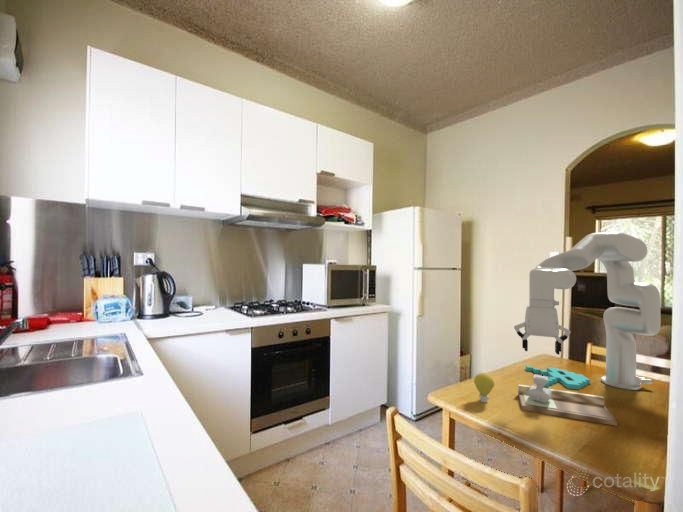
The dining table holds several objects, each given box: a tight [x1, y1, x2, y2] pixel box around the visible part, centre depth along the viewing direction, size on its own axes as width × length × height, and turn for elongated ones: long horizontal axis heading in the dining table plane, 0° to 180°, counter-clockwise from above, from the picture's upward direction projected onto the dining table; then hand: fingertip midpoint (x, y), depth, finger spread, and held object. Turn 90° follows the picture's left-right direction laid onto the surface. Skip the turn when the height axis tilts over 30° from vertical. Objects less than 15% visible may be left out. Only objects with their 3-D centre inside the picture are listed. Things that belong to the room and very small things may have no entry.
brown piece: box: [517, 383, 618, 427], centre depth 113 cm, size 26×13×4 cm, turn 67°
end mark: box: [523, 393, 557, 409], centre depth 116 cm, size 9×10×1 cm
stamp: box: [528, 373, 552, 403], centre depth 116 cm, size 9×7×8 cm
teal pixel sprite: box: [525, 365, 591, 390], centre depth 140 cm, size 20×2×20 cm
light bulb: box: [473, 372, 495, 403], centre depth 119 cm, size 7×7×10 cm
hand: (541, 351), depth 116 cm, fingers open, 9 cm apart
